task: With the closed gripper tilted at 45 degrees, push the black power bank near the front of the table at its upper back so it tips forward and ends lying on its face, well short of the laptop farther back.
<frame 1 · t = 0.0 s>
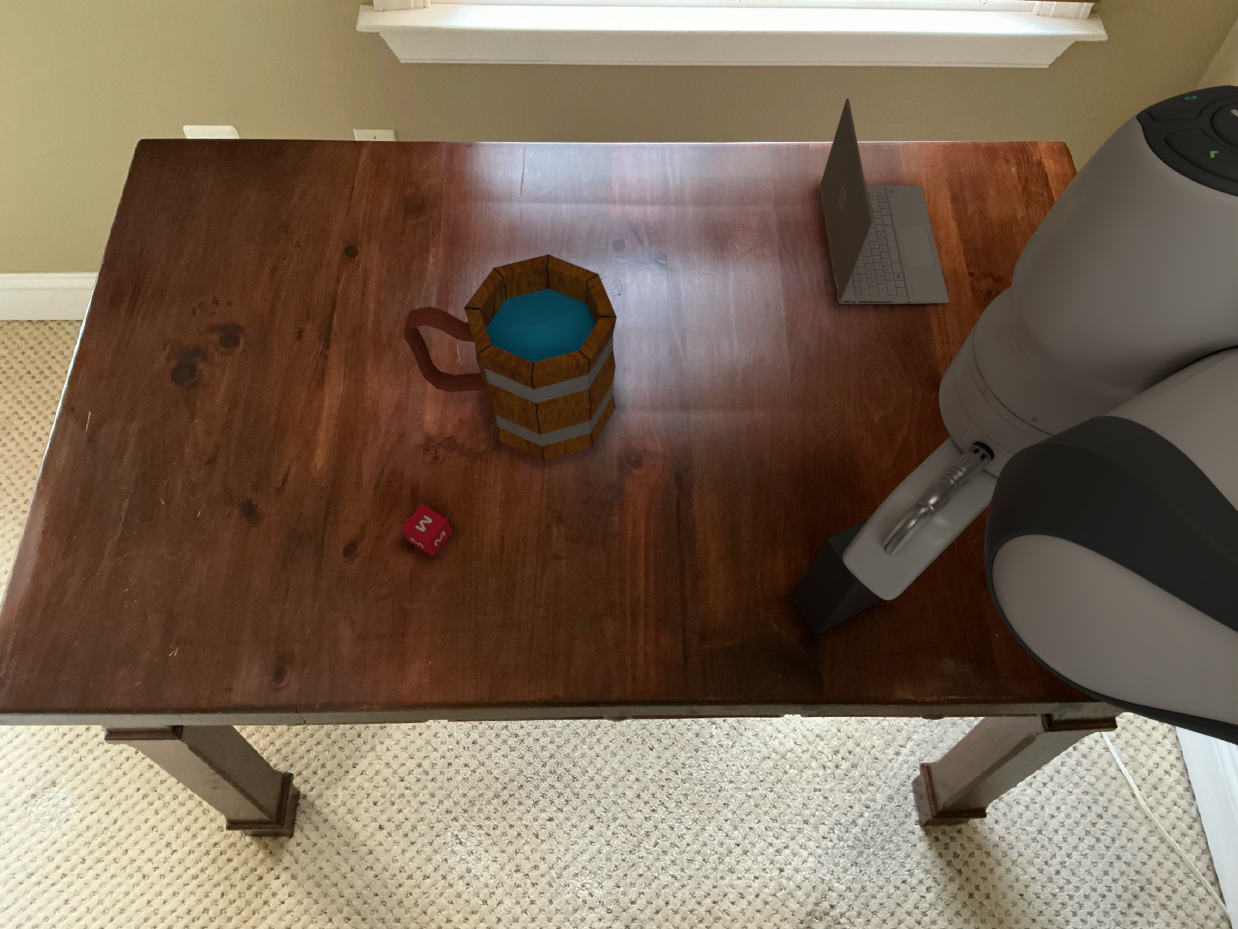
hand: (939, 512, 53), 25 cm above the table, tool pointing down, fingers open, 8 cm apart
laptop: (879, 246, 97), on the table
smartphone: (1100, 556, 79), on the table
dice: (430, 537, 79), on the table
mug: (521, 402, 86), on the table
black power bank: (834, 600, 76), on the table
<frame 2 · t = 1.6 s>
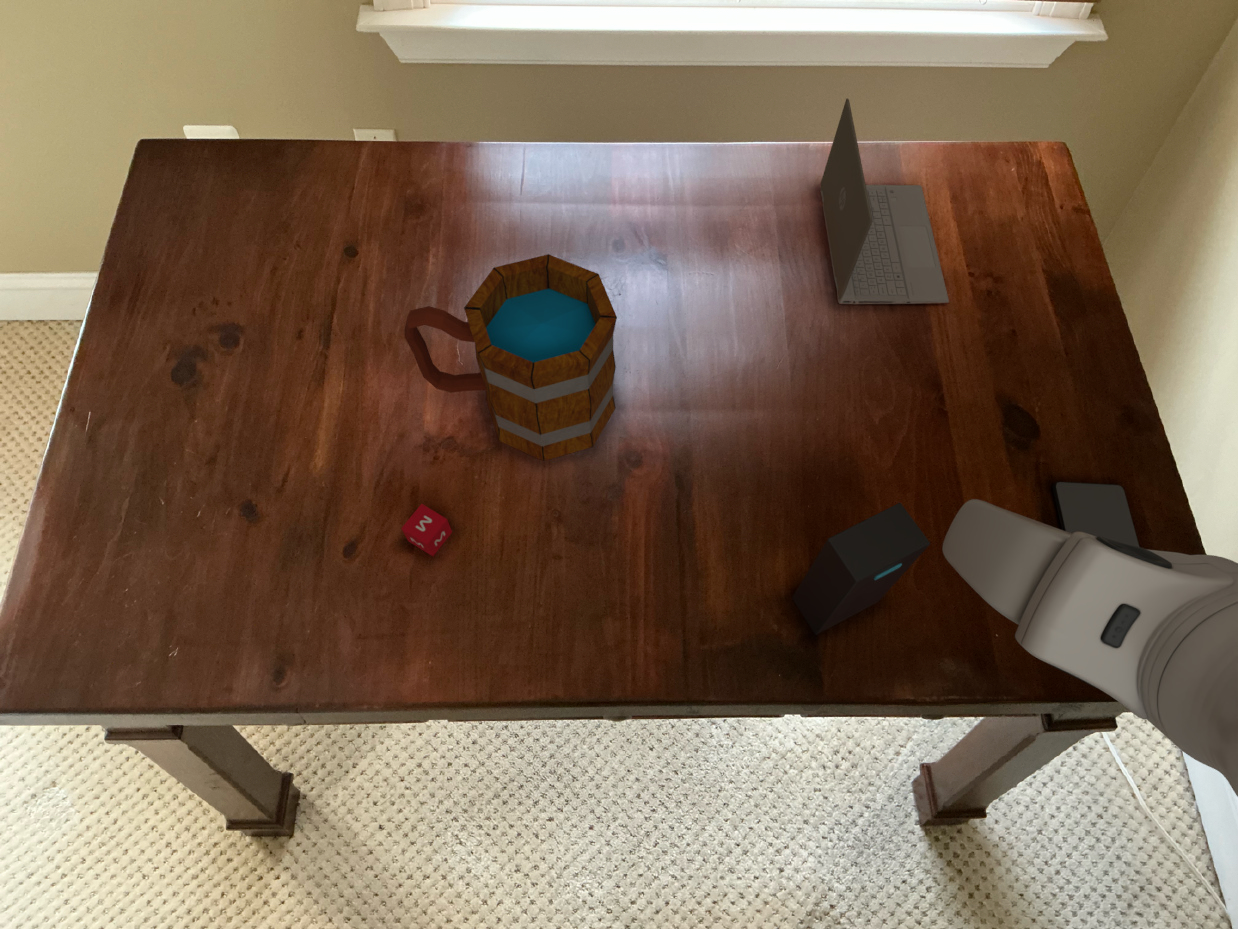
hand: (1048, 540, 54), 23 cm above the table, tool tilted 45°, fingers open, 8 cm apart
nothing on the table moved.
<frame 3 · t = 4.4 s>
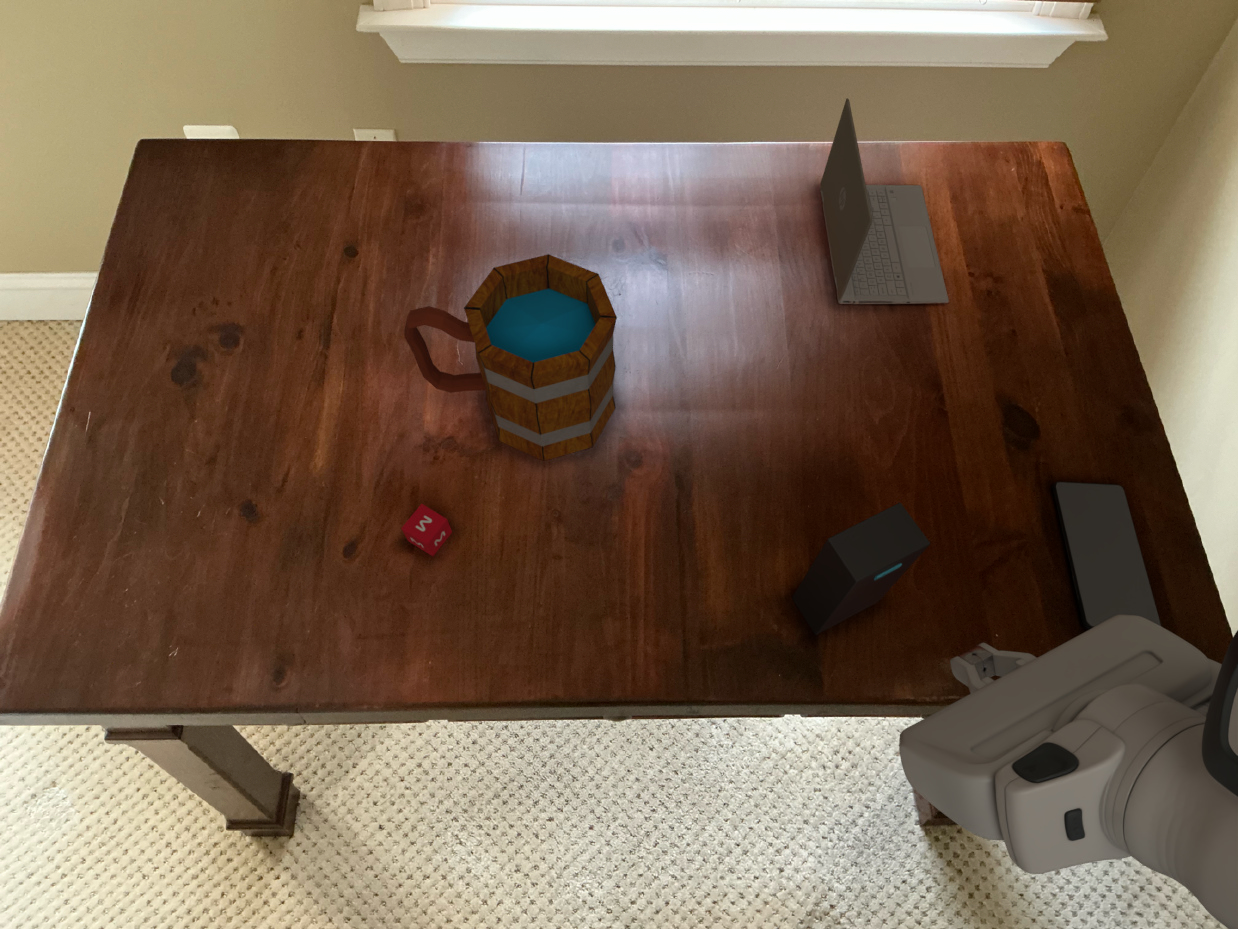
hand: (966, 658, 61), 13 cm above the table, tool tilted 45°, fingers closed
nothing on the table moved.
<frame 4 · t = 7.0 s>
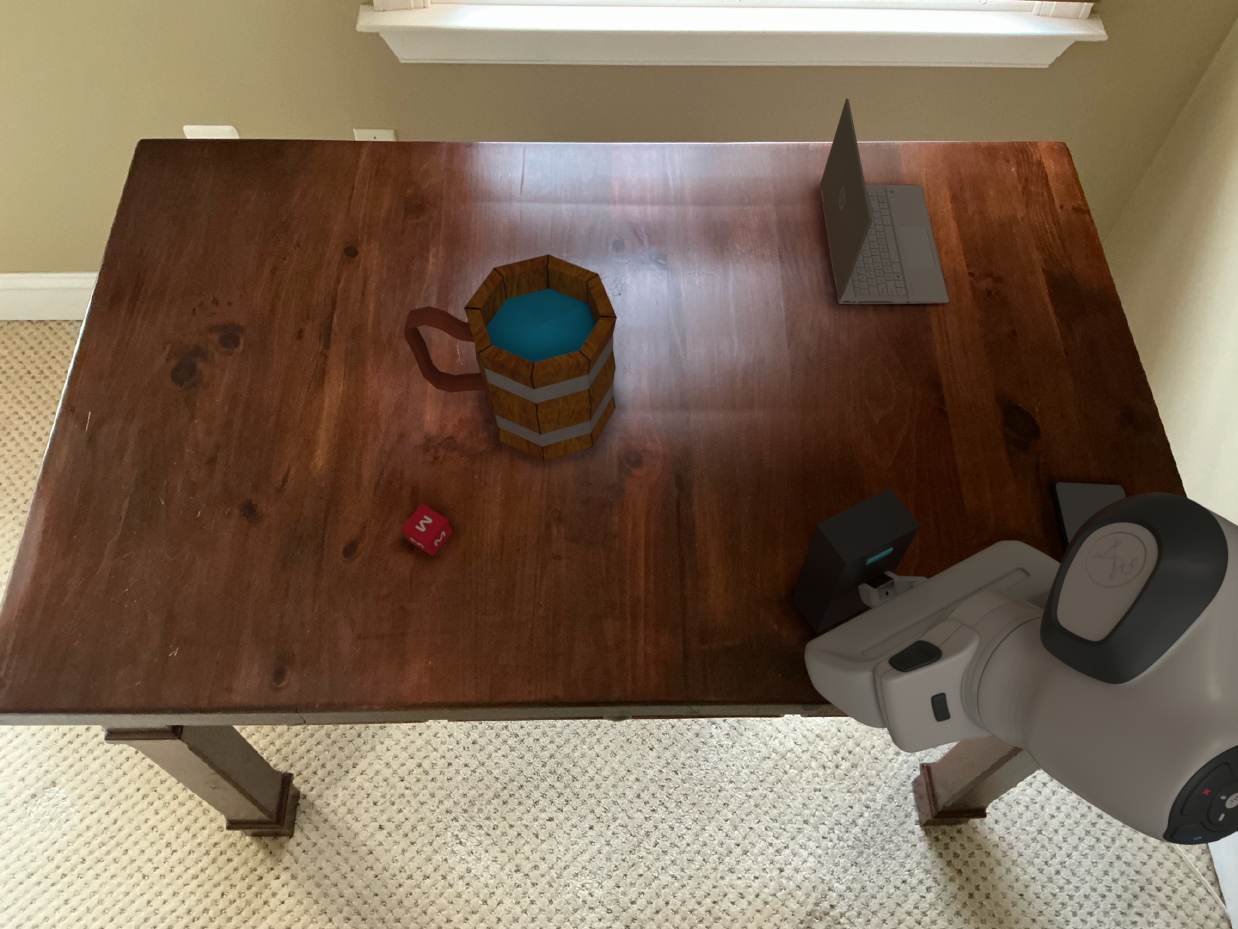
hand: (873, 585, 69), 8 cm above the table, tool tilted 45°, fingers closed
black power bank: (835, 599, 76), on the table, tilted 6°
everything else where it was.
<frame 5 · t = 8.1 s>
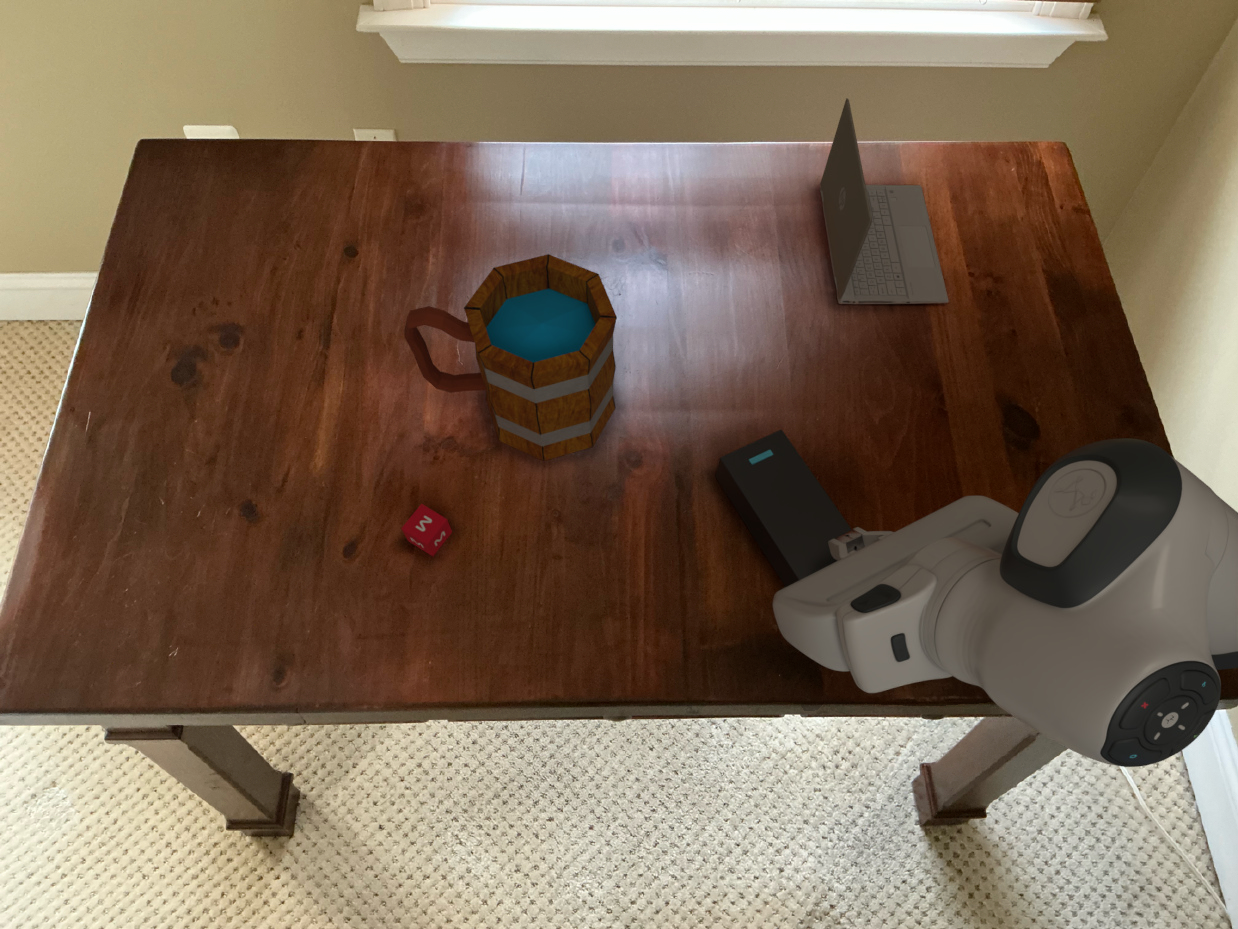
hand: (843, 541, 70), 8 cm above the table, tool tilted 45°, fingers closed
black power bank: (828, 573, 75), point 2 cm above the table, tilted 90°
everything else where it was.
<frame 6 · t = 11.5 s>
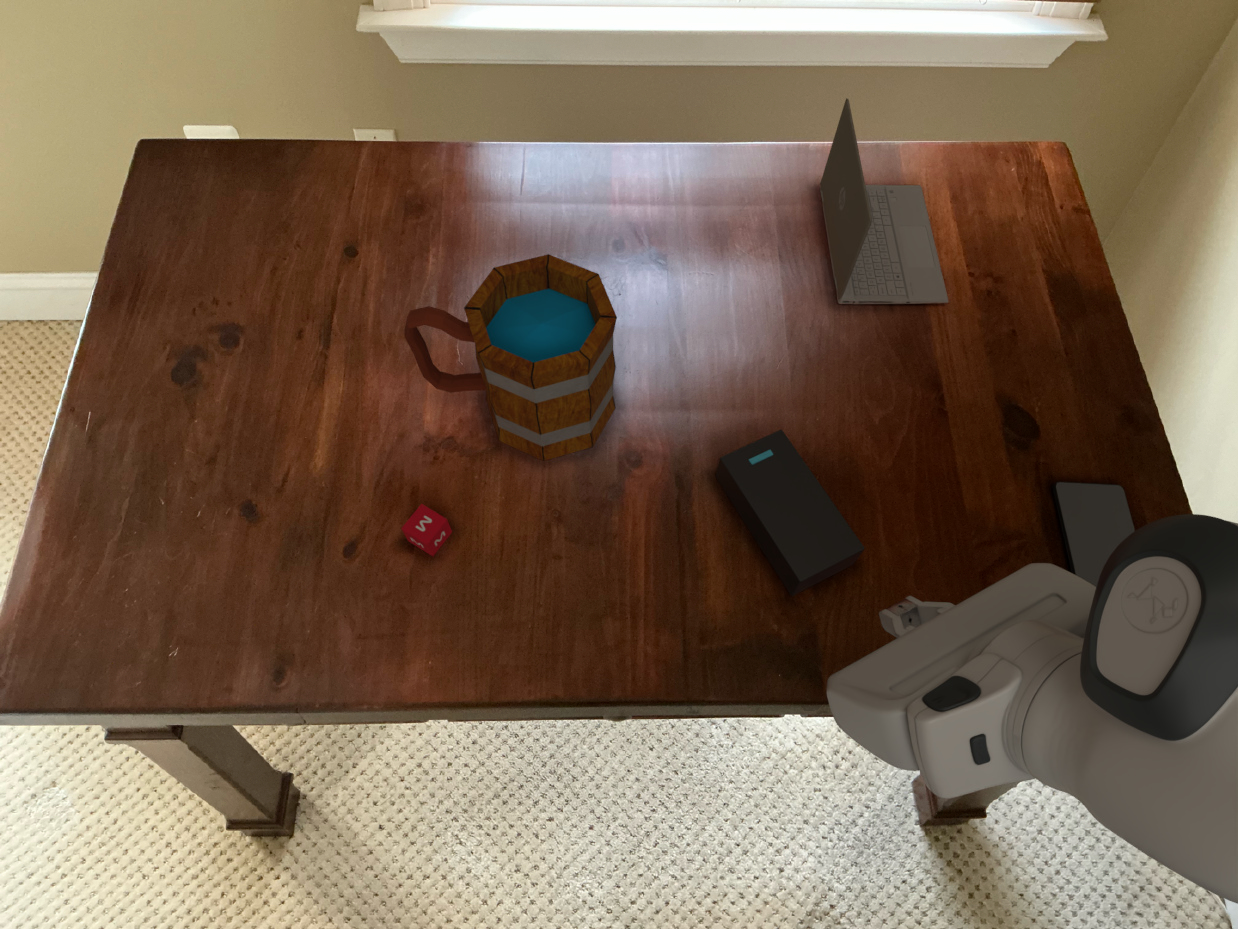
hand: (895, 611, 64), 11 cm above the table, tool tilted 45°, fingers closed
nothing on the table moved.
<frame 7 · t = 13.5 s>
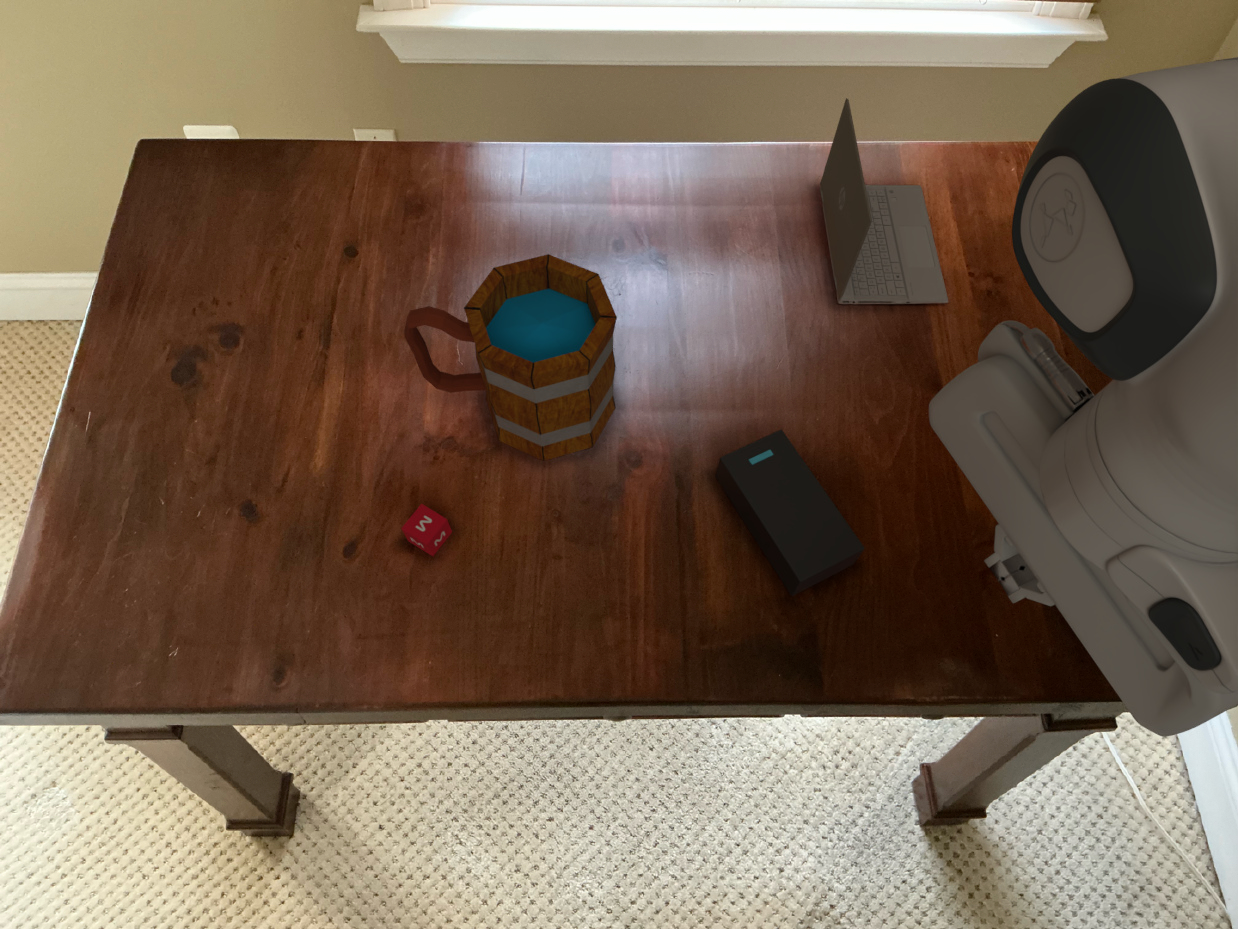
hand: (1007, 577, 49), 27 cm above the table, tool pointing down, fingers closed
nothing on the table moved.
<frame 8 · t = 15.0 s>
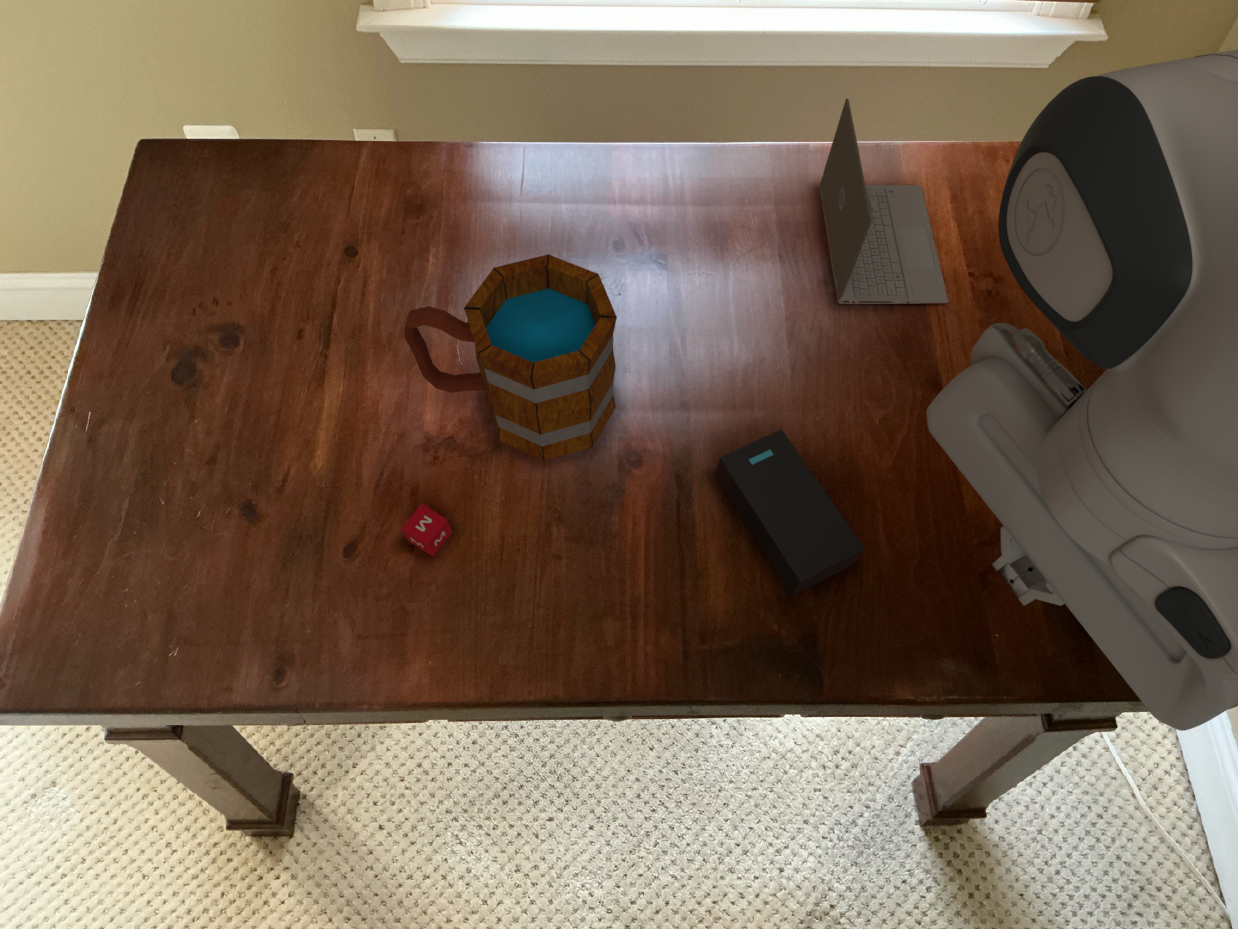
hand: (1016, 580, 49), 27 cm above the table, tool pointing down, fingers closed
nothing on the table moved.
at the end: black power bank tilted 90°; the gripper is holding nothing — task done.
